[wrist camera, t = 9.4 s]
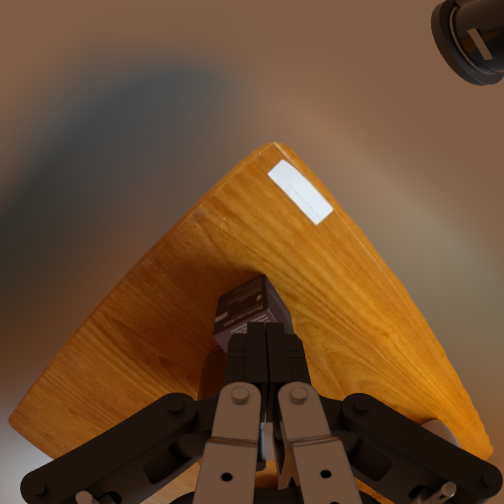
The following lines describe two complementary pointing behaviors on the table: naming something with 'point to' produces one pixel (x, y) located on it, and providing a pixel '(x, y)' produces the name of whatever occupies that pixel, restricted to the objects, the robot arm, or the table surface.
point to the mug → (441, 431)
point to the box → (249, 309)
